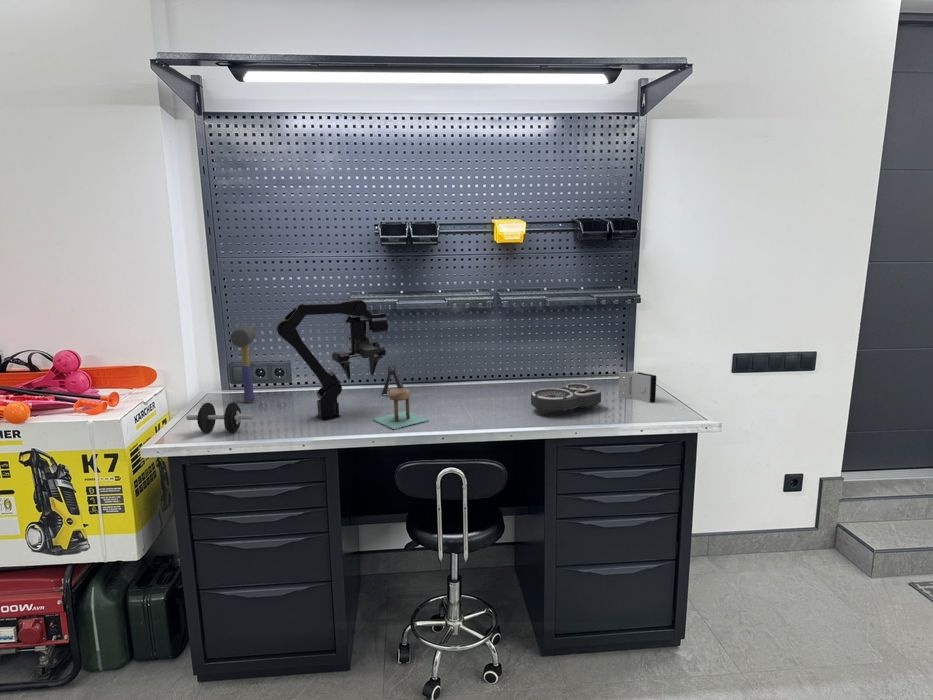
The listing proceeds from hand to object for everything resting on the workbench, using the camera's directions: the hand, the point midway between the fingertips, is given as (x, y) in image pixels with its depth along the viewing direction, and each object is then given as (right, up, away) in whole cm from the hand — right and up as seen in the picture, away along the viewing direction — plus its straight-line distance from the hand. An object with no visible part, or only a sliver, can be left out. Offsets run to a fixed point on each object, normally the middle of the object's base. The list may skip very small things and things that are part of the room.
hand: (360, 377), depth 204 cm
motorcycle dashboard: (+74, -12, +1) cm, 75 cm away
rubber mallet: (-47, -11, +19) cm, 52 cm away
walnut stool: (+15, -14, -9) cm, 22 cm away
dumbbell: (-43, -18, -17) cm, 49 cm away
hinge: (+103, -9, +13) cm, 104 cm away
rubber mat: (+15, -15, -8) cm, 23 cm away
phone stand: (+8, -8, +27) cm, 30 cm away
